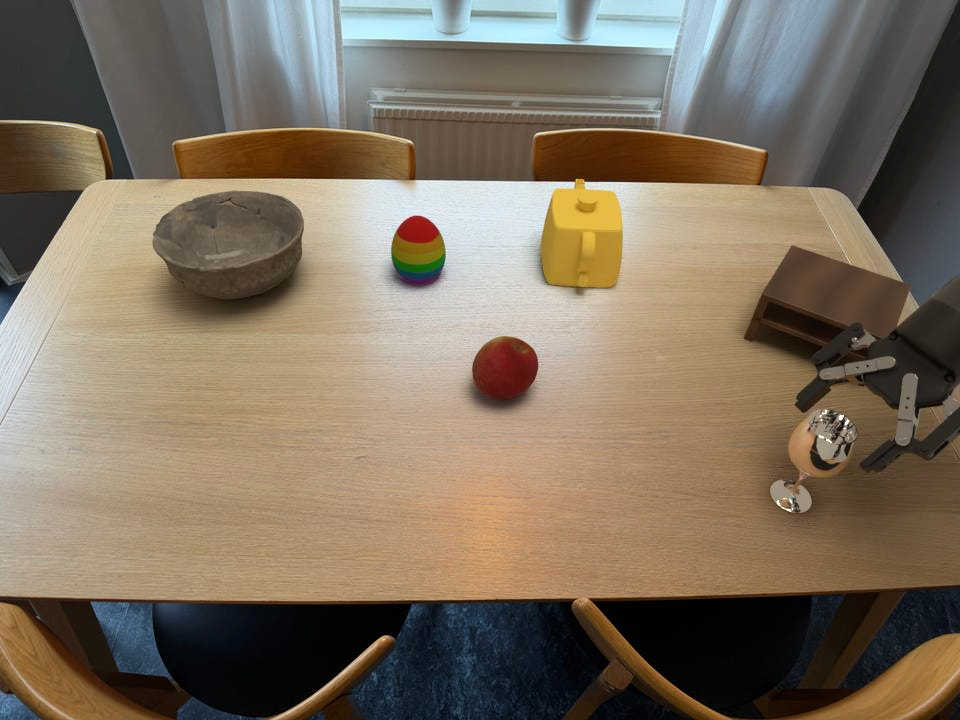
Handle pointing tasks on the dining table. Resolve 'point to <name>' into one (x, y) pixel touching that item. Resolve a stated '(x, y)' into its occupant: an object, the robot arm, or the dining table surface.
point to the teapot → (582, 238)
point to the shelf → (828, 300)
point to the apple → (505, 367)
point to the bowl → (231, 242)
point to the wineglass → (815, 455)
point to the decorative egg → (418, 250)
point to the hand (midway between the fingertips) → (829, 438)
